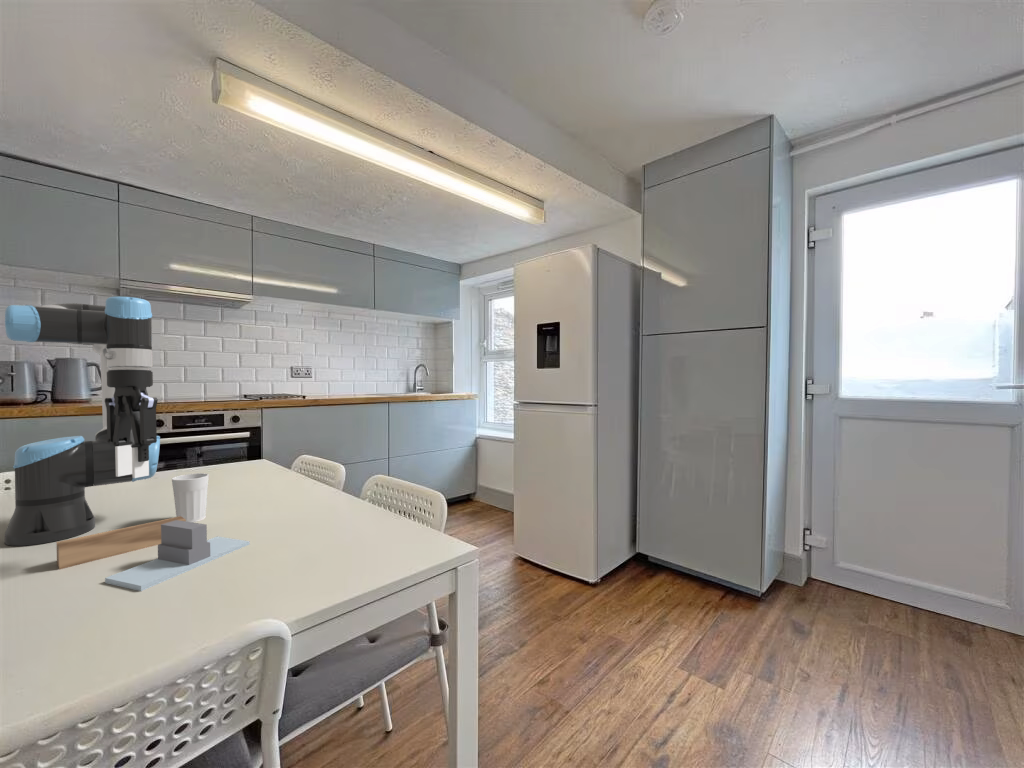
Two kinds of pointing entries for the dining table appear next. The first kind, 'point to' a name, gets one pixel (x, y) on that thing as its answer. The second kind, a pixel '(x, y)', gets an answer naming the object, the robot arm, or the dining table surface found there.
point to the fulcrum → (176, 555)
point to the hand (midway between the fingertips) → (132, 475)
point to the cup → (191, 496)
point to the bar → (109, 543)
